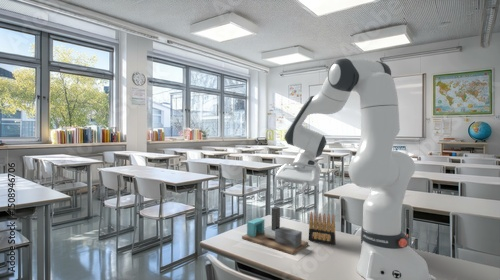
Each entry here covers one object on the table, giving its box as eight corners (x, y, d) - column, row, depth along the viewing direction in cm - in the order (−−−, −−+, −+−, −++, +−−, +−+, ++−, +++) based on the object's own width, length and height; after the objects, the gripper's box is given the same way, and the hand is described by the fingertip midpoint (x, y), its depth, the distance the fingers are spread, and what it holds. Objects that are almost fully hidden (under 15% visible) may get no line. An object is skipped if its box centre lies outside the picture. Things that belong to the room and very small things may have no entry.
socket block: (264, 232, 128) (264, 219, 127) (253, 237, 122) (253, 223, 122) (257, 230, 130) (257, 217, 130) (247, 235, 124) (247, 221, 124)
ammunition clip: (335, 243, 118) (336, 214, 117) (334, 245, 116) (335, 215, 116) (309, 239, 123) (309, 210, 122) (308, 240, 121) (308, 211, 120)
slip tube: (298, 242, 114) (298, 211, 114) (294, 244, 112) (294, 213, 111) (269, 234, 123) (269, 205, 123) (264, 236, 121) (264, 206, 120)
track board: (308, 244, 117) (308, 229, 116) (292, 254, 107) (292, 238, 107) (259, 230, 132) (259, 217, 132) (241, 238, 123) (241, 224, 123)
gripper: (280, 159, 139) (268, 182, 132) (320, 162, 126) (309, 188, 119) (285, 167, 143) (274, 191, 136) (324, 171, 130) (314, 197, 123)
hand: (290, 190), depth 127 cm, fingers open, 8 cm apart
